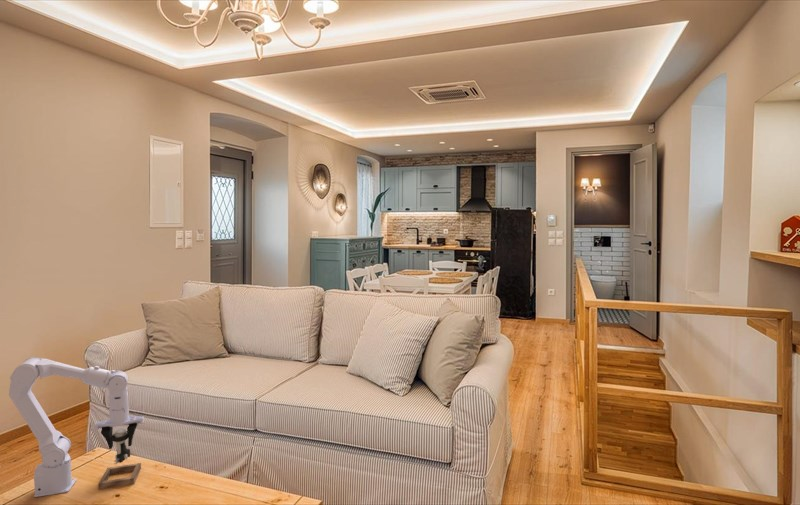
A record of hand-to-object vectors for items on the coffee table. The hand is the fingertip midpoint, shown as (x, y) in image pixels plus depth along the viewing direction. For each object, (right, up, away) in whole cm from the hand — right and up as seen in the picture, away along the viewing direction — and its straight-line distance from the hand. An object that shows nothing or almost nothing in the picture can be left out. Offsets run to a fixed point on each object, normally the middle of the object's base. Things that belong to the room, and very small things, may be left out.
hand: (120, 446), depth 162 cm
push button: (0, -5, +1) cm, 5 cm away
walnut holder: (+1, -11, -1) cm, 11 cm away
